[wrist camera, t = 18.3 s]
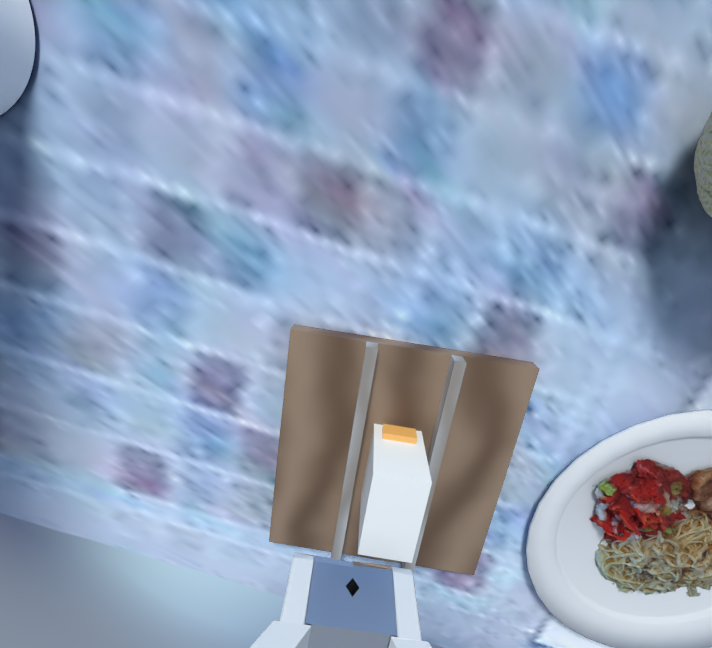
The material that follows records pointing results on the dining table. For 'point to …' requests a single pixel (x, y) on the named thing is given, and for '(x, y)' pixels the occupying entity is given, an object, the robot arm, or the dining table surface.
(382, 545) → the rail module
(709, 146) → the cantaloupe
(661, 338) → the dining table surface
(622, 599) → the plated food
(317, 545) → the rail panel
